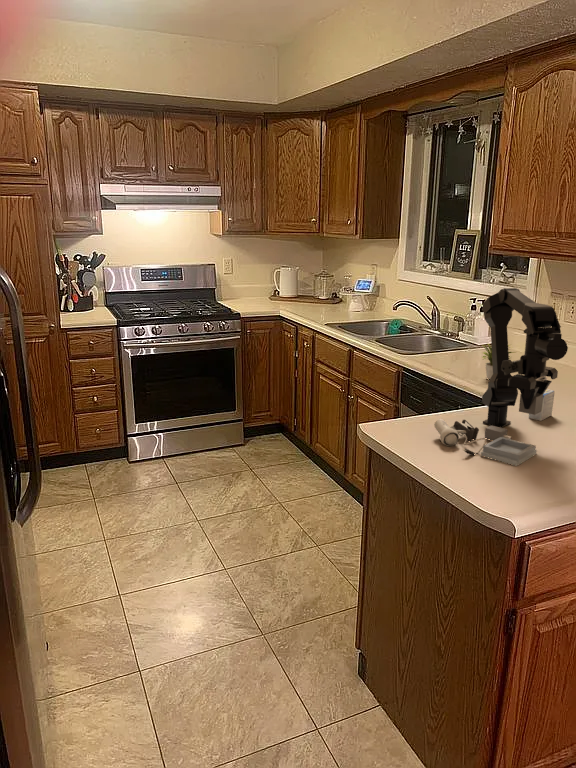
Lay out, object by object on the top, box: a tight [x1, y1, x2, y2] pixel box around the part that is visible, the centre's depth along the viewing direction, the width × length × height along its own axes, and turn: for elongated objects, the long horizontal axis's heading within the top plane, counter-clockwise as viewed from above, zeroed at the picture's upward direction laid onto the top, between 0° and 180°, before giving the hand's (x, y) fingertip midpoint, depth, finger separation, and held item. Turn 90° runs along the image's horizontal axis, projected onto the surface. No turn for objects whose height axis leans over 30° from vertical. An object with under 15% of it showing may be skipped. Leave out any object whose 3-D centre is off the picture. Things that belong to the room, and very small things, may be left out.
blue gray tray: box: [480, 437, 538, 467], centre depth 164 cm, size 12×10×3 cm
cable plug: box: [484, 425, 512, 441], centre depth 175 cm, size 4×7×4 cm, turn 45°
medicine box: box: [528, 388, 555, 422], centre depth 195 cm, size 8×4×9 cm, turn 135°
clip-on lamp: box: [434, 418, 487, 456], centre depth 171 cm, size 12×6×18 cm
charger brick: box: [518, 393, 543, 415], centre depth 168 cm, size 4×4×6 cm
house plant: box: [481, 342, 516, 379], centre depth 240 cm, size 14×14×16 cm
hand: (530, 407), depth 168 cm, fingers closed on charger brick, 4 cm apart
